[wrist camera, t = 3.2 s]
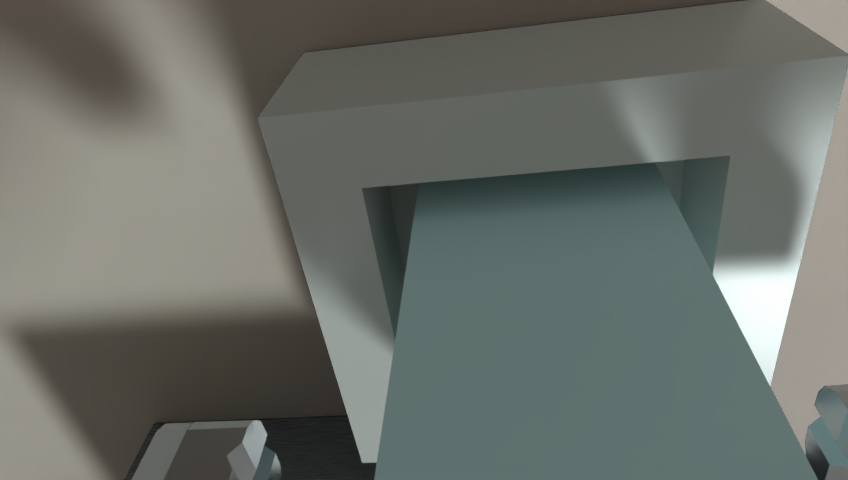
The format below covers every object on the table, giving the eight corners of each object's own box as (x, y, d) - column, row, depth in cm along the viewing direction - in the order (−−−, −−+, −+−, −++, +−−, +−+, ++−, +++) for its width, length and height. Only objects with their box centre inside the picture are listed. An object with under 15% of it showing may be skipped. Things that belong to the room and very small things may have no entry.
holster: (762, -2, 11) (850, 55, 8) (707, 345, 15) (754, 451, 12) (303, 52, 12) (256, 118, 9) (379, 362, 16) (361, 462, 14)
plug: (645, 143, 11) (1143, 1112, 3) (634, 315, 13) (895, 1139, 5) (421, 164, 12) (291, 1030, 3) (446, 326, 14) (404, 1088, 6)
